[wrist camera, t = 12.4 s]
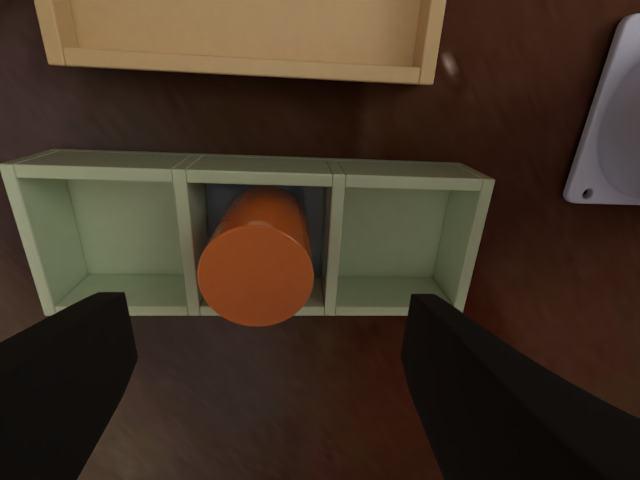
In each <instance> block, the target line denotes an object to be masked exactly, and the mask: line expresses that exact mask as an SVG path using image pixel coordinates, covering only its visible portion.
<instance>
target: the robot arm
mask: <svg viewBox="0 0 640 480" xmlns="http://www.w3.org/2000/svg"><path fill="white" fill-rule="evenodd" d="M586 189H587V192H586V194H585V195H584V196H582V195H583V192H584V191H585V190H586ZM563 197H564V199H565V200H566V201H568V202H571V203H582V204H620V205H640V13H638V14H633V15H628V16H626V17H624V18H623V19H622V20H621V21H620V22H619V24H618V26H617V28H616V31H615V34H614V37H613V41H612V44H611V47H610V50H609V53H608V56H607V59H606V62H605V65H604V68H603V71H602V74H601V77H600V81H599V84H598V87H597V90H596V93H595V96H594V99H593V102H592V105H591V108H590V111H589V114H588V117H587V120H586V124H585V127H584V130H583V133H582V136H581V139H580V142H579V145H578V148H577V151H576V154H575V157H574V160H573V164H572V167H571V170H570V173H569V176H568V179H567V182H566V185H565V188H564V191H563ZM137 359H138V356H137V351H136V346H135V341H134V336H133V331H132V326H131V321H130V316H129V311H128V306H127V301H126V296H125V292H98V293H95V294H93V295H91V296H88V297H86V298H84V299H82V300H80V301H78V302H76V303H74V304H72V305H70V306H68V307H66V308H65V309H63V310H61V311H59V312H57V313H55V314H53V315H51V316H50V317H48V318H46V319H44V320H42V321H40V322H38V323H36V324H35V325H33V326H31V327H29V328H27V329H25V330H23V331H21V332H20V333H18V334H16V335H14V336H12V337H10V338H8V339H6V340H4V341H2V342H0V480H77V478H78V476H79V475H80V473H81V471H82V469H83V468H84V466H85V464H86V462H87V460H88V459H89V457H90V455H91V453H92V451H93V450H94V448H95V446H96V444H97V442H98V441H99V439H100V437H101V435H102V434H103V432H104V430H105V428H106V426H107V424H108V423H109V421H110V419H111V417H112V415H113V414H114V412H115V410H116V408H117V406H118V404H119V402H120V401H121V399H122V397H123V395H124V392H125V390H126V387H127V385H128V382H129V380H130V378H131V375H132V372H133V370H134V367H135V364H136V362H137ZM401 359H402V363H403V367H404V372H405V376H406V379H407V383H408V387H409V391H410V394H411V396H412V399H413V401H414V404H415V407H416V409H417V412H418V414H419V417H420V419H421V422H422V424H423V427H424V430H425V432H426V435H427V437H428V440H429V442H430V445H431V447H432V450H433V452H434V455H435V457H436V460H437V462H438V465H439V467H440V470H441V472H442V475H443V477H444V480H640V419H639V418H637V417H635V416H632V415H630V414H628V413H626V412H624V411H622V410H620V409H618V408H616V407H615V406H613V405H611V404H609V403H607V402H605V401H603V400H601V399H599V398H597V397H596V396H594V395H592V394H590V393H588V392H586V391H585V390H583V389H581V388H579V387H577V386H575V385H574V384H572V383H570V382H568V381H566V380H565V379H563V378H561V377H560V376H558V375H556V374H554V373H553V372H551V371H549V370H548V369H546V368H544V367H543V366H541V365H540V364H538V363H536V362H535V361H533V360H532V359H530V358H528V357H527V356H525V355H524V354H522V353H521V352H519V351H517V350H516V349H514V348H513V347H511V346H510V345H508V344H507V343H505V342H504V341H502V340H501V339H499V338H498V337H497V336H495V335H494V334H492V333H491V332H489V331H488V330H486V329H485V328H484V327H482V326H481V325H479V324H478V323H476V322H475V321H474V320H472V319H471V318H469V317H468V316H467V315H465V314H464V313H462V312H461V311H460V310H458V309H457V308H455V307H454V306H452V305H451V304H450V303H448V302H447V301H445V300H444V299H442V298H440V297H439V296H437V295H435V294H411V298H410V304H409V310H408V316H407V322H406V328H405V334H404V340H403V345H402V351H401Z"/></svg>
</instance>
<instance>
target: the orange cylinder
mask: <svg viewBox="0 0 640 480" xmlns="http://www.w3.org/2000/svg"><path fill="white" fill-rule="evenodd" d="M197 280H198V285H199V288H200V291H201V294H202V296H203V298H204V299H205V301H206V302H207V304H208V305H209V306H210V307H211V308H212V309H213V310H214V311H215V312H216V313H217V314H219V315H220V316H222V317H223V318H225V319H227V320H229V321H231V322H234V323H236V324H240V325H244V326H251V327H264V326H270V325H274V324H278V323H280V322H283V321H285V320H287V319H289V318H291V317H292V316H293V315H295V314H296V313H297V312H298V311H299V310H300V309H301V308H302V307H303V306H304V305H305V304H306V302H307V300H308V299H309V297H310V294H311V292H312V289H313V284H314V269H313V260H312V250H311V241H310V232H309V223H308V217H307V214H306V212H305V210H304V208H303V206H302V205H301V203H300V202H299V201H298V200H297V199H296V198H295V197H294V196H293V195H291V194H290V193H288V192H286V191H284V190H282V189H279V188H276V187H272V186H257V187H252V188H249V189H247V190H244V191H242V192H241V193H239V194H238V195H237V196H235V197H234V198H233V199H232V200H231V202H230V203H229V205H228V206H227V208H226V210H225V212H224V213H223V215H222V217H221V219H220V221H219V223H218V225H217V226H216V228H215V230H214V232H213V234H212V236H211V238H210V240H209V241H208V243H207V245H206V247H205V249H204V251H203V253H202V255H201V257H200V259H199V263H198V268H197Z"/></svg>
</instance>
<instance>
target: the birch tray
mask: <svg viewBox="0 0 640 480" xmlns="http://www.w3.org/2000/svg"><path fill="white" fill-rule="evenodd" d="M34 4H35V8H36V12H37V17H38V21H39V26H40V30H41V34H42V39H43V43H44V48H45V52H46V56H47V61H48V64H49V65H56V66H70V67H87V68H106V69H125V70H144V71H163V72H182V73H201V74H221V75H240V76H259V77H278V78H297V79H316V80H335V81H354V82H373V83H392V84H411V85H433V82H434V75H435V69H436V63H437V56H438V50H439V44H440V37H441V31H442V25H443V18H444V12H445V6H446V0H34Z"/></svg>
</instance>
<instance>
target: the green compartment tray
mask: <svg viewBox="0 0 640 480" xmlns="http://www.w3.org/2000/svg"><path fill="white" fill-rule="evenodd" d="M0 172H1V175H2V179H3V182H4V185H5V188H6V192H7V195H8V198H9V201H10V205H11V208H12V211H13V214H14V218H15V221H16V224H17V227H18V231H19V234H20V237H21V240H22V244H23V247H24V250H25V253H26V257H27V260H28V263H29V266H30V270H31V273H32V276H33V279H34V283H35V286H36V289H37V292H38V296H39V299H40V302H41V305H42V309H43V312H44V315H45V316H51V315H53V314H55V313H57V312H59V311H61V310H63V309H65V308H66V307H68V306H70V305H72V304H74V303H76V302H78V301H80V300H82V299H84V298H86V297H88V296H91V295H93V294H95V293H98V292H125V296H126V301H127V306H128V311H129V316H188V315H189V316H200V315H201V316H220V315H219V314H217V313H216V312H215V311H214V310H213V309H212V308H211V307H210V306H209V305H208V304H207V302H206V301H205V299H204V298H203V296H202V294H201V291H200V288H199V285H198V280H197V268H198V263H199V259H200V257H201V255H202V253H203V251H204V249H205V247H206V245H207V243H208V241H209V240H210V238H211V236H212V234H213V232H214V230H215V228H216V226H217V225H218V223H219V221H220V219H221V217H222V215H223V213H224V212H225V210H226V208H227V206H228V205H229V203H230V202H231V200H232V199H233V198H234V197H235V196H237V195H238V194H239V193H241V192H242V191H244V190H247V189H249V188H252V187H257V186H272V187H276V188H279V189H282V190H284V191H286V192H288V193H290V194H291V195H293V196H294V197H295V198H296V199H297V200H298V201H299V202H300V203H301V205H302V206H303V208H304V210H305V212H306V214H307V217H308V223H309V232H310V241H311V250H312V260H313V269H314V284H313V289H312V292H311V294H310V297H309V299H308V300H307V302H306V304H305V305H304V306H303V307H302V308H301V309H300V310H299V311H298V312H297V313H296V314H295V315H293V316H323V315H325V316H334V315H336V316H408V310H409V304H410V298H411V294H435V295H437V296H439V297H440V298H442V299H444V300H445V301H447V302H448V303H450V304H451V305H452V306H454V307H455V308H457V309H458V310H460V311H461V312H462V313H463V310H464V306H465V302H466V298H467V294H468V290H469V286H470V282H471V277H472V273H473V269H474V265H475V261H476V257H477V253H478V249H479V245H480V241H481V237H482V232H483V228H484V224H485V220H486V216H487V212H488V208H489V204H490V200H491V196H492V192H493V187H494V183H495V179H493V178H491V177H489V176H487V175H485V174H482V173H480V172H478V171H476V170H474V169H472V168H470V167H468V166H466V165H464V164H462V163H459V162H430V161H402V160H373V159H344V158H316V157H287V156H258V155H230V154H201V153H173V152H144V151H115V150H87V149H58V148H55V149H51V150H47V151H44V152H40V153H36V154H33V155H29V156H26V157H22V158H18V159H15V160H11V161H7V162H4V163H0Z"/></svg>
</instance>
